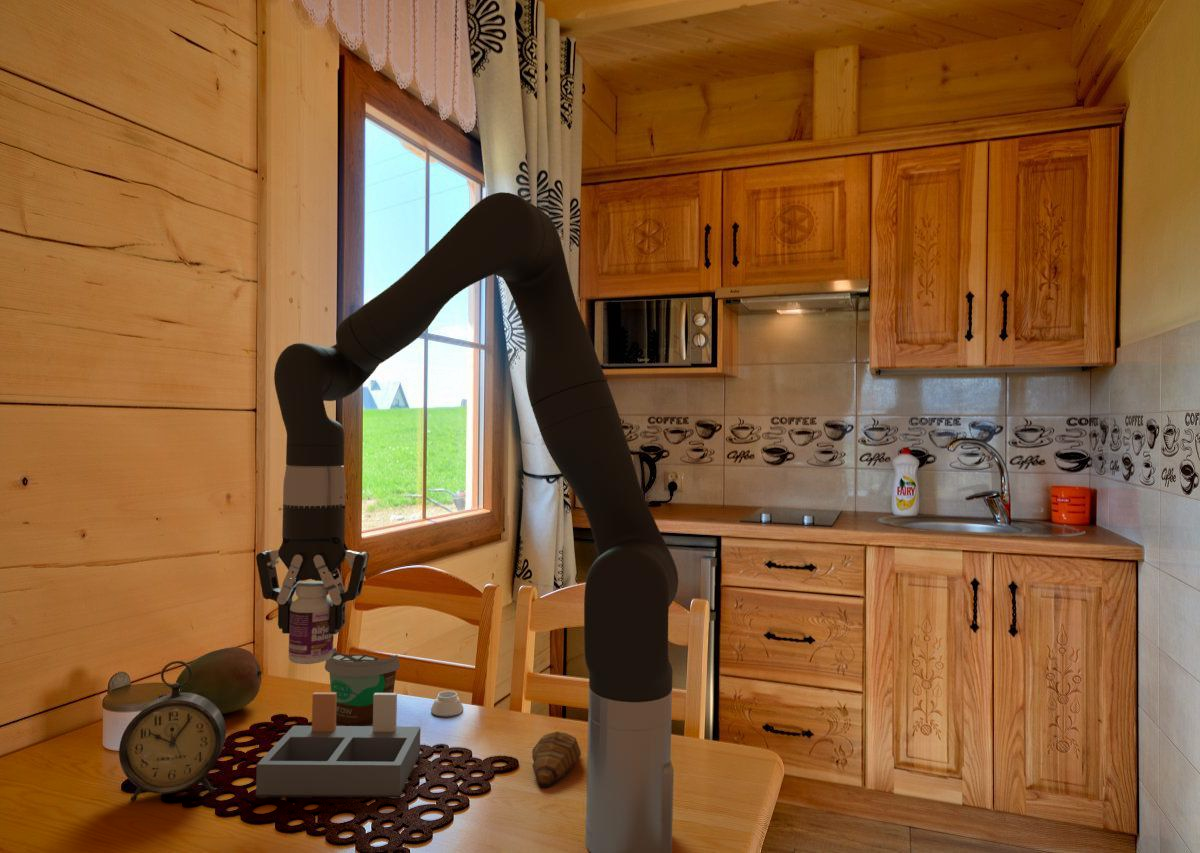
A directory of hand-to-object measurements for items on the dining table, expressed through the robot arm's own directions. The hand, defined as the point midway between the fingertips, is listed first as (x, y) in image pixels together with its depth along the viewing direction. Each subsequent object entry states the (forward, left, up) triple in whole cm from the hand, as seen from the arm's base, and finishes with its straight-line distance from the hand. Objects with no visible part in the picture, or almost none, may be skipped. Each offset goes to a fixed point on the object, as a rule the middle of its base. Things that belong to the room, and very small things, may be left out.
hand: (311, 631), depth 96 cm
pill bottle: (0, 0, -4) cm, 4 cm away
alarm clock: (+15, +4, -19) cm, 25 cm away
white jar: (-14, -24, -19) cm, 34 cm away
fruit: (+22, -22, -19) cm, 37 cm away
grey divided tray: (-4, -1, -19) cm, 20 cm away
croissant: (-32, -5, -20) cm, 37 cm away
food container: (0, -19, -19) cm, 27 cm away
